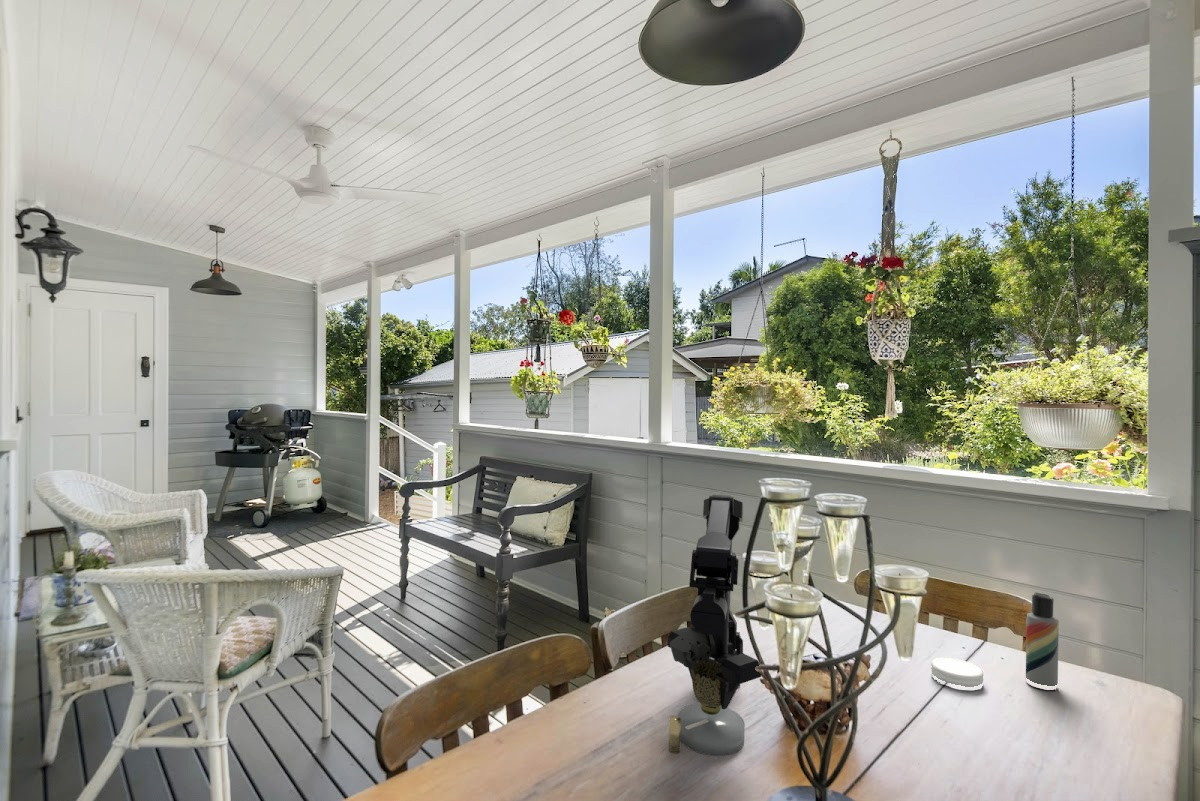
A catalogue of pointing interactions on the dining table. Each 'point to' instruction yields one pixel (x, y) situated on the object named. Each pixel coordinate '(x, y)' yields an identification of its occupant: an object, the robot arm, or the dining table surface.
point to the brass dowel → (674, 734)
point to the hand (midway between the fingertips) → (711, 700)
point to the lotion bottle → (1042, 642)
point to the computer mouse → (711, 731)
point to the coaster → (957, 672)
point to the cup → (707, 686)
